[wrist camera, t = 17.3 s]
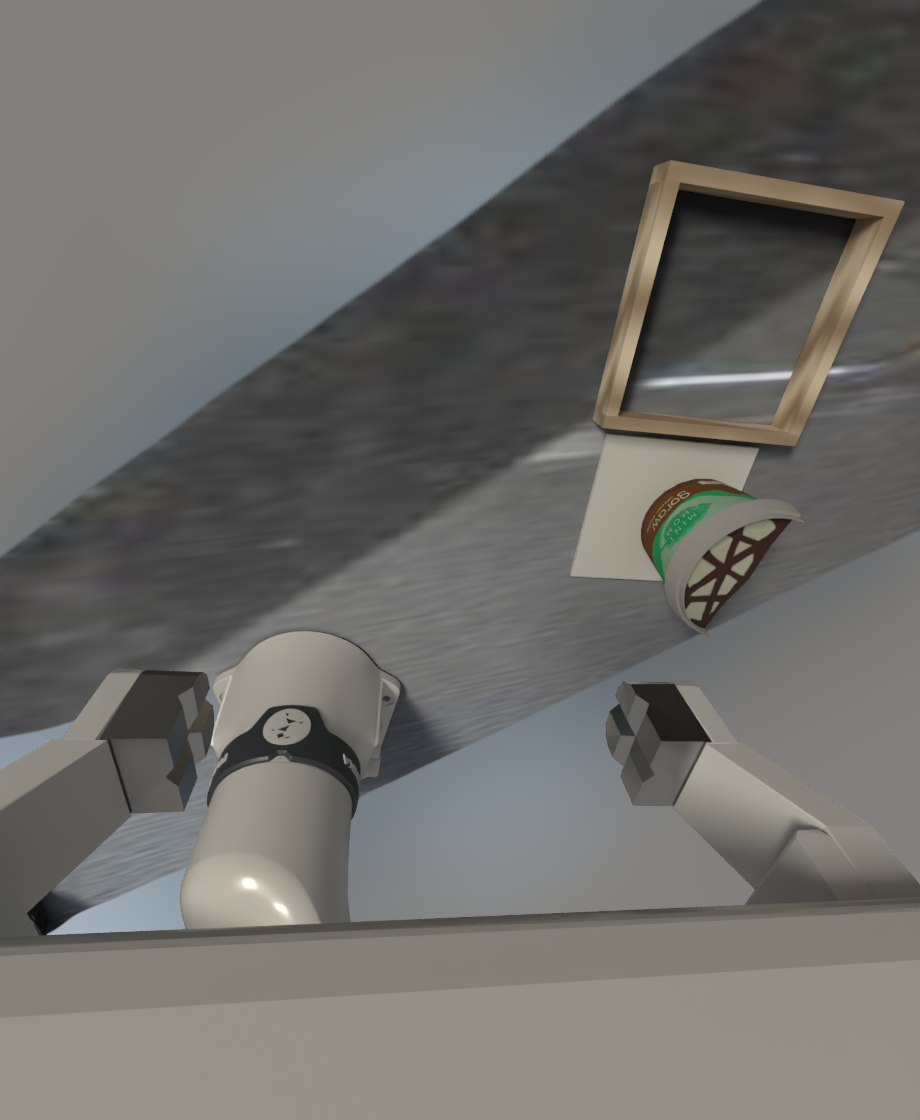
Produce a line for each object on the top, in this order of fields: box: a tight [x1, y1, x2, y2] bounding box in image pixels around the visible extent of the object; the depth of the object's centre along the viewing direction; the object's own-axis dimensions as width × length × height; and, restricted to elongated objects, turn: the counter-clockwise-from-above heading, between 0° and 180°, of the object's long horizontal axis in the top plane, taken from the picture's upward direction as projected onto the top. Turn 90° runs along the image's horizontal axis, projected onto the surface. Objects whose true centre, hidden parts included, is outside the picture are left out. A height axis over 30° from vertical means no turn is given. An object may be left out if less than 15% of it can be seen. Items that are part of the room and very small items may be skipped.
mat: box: [570, 433, 759, 581], centre depth 48 cm, size 14×14×1 cm
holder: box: [592, 160, 905, 446], centre depth 39 cm, size 17×17×2 cm
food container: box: [641, 479, 804, 637], centre depth 43 cm, size 12×6×10 cm, turn 156°
